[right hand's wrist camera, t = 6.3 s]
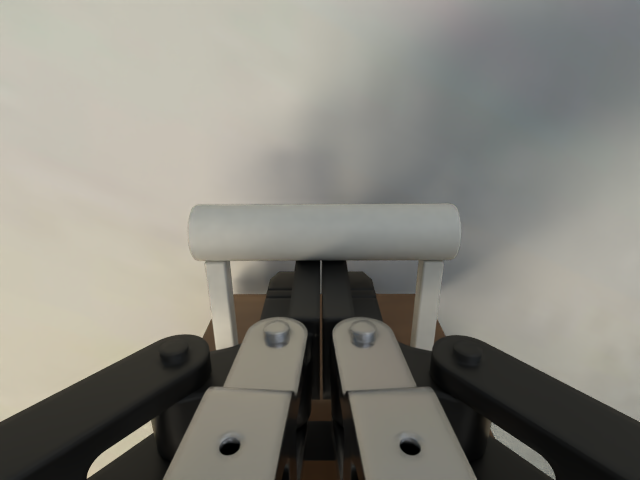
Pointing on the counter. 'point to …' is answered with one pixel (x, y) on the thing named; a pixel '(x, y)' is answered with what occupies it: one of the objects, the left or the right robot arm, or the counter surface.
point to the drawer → (324, 244)
